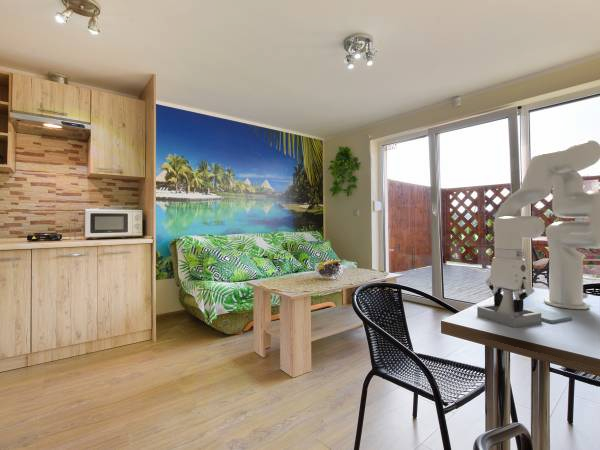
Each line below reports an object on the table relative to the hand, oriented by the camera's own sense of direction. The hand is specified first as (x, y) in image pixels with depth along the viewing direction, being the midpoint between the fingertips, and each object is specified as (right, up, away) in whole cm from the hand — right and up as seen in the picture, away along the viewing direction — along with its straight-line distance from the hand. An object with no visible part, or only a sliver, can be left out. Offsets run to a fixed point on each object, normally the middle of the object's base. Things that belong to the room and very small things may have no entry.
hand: (508, 308), depth 98 cm
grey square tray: (0, -4, 0) cm, 4 cm away
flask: (0, -4, 0) cm, 4 cm away
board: (+13, -3, +2) cm, 14 cm away
